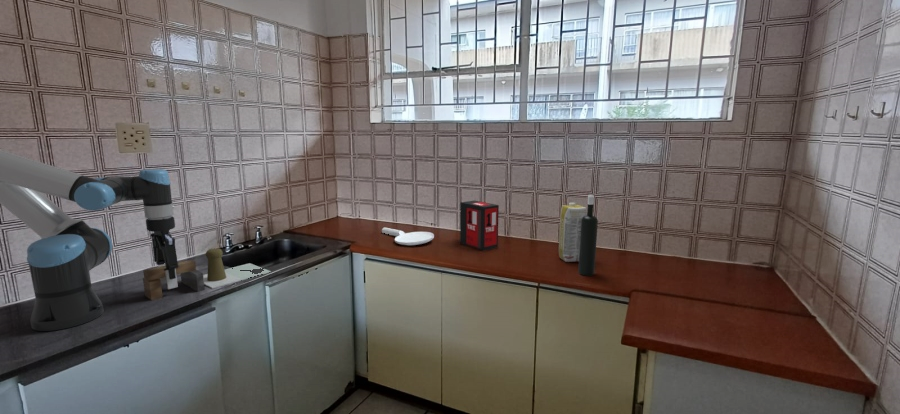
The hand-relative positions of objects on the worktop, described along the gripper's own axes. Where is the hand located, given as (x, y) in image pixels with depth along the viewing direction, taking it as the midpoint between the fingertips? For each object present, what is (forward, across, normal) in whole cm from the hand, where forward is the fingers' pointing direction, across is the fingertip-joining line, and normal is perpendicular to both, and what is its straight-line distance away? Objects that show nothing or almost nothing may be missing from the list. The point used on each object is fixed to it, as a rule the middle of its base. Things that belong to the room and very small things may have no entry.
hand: (168, 285), depth 135 cm
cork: (+2, 0, -15) cm, 15 cm away
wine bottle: (+3, -104, -103) cm, 146 cm away
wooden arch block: (+2, 0, -1) cm, 3 cm away
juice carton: (+3, -93, -116) cm, 149 cm away
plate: (+2, 0, -20) cm, 21 cm away
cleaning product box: (+3, -50, -111) cm, 122 cm away
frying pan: (+3, -14, -98) cm, 99 cm away
